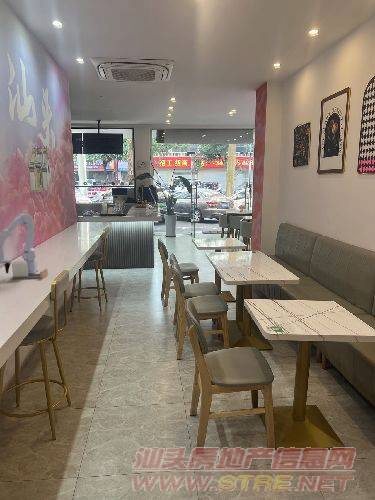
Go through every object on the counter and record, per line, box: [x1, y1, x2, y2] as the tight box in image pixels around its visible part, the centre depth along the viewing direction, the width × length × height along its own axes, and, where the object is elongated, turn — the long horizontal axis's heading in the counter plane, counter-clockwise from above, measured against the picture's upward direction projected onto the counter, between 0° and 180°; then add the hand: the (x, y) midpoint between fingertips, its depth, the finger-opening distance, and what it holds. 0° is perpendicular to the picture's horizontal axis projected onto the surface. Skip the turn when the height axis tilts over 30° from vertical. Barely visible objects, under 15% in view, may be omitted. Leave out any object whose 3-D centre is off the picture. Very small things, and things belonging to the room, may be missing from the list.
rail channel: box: [12, 268, 48, 280], centre depth 278 cm, size 10×22×5 cm, turn 90°
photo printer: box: [11, 260, 29, 277], centre depth 278 cm, size 10×4×12 cm, turn 96°
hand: (1, 273), depth 278 cm, fingers open, 7 cm apart
